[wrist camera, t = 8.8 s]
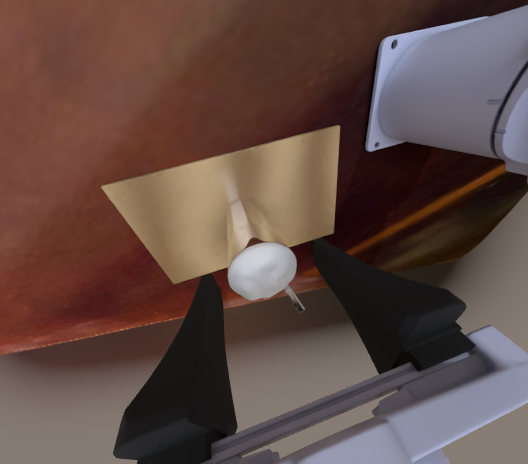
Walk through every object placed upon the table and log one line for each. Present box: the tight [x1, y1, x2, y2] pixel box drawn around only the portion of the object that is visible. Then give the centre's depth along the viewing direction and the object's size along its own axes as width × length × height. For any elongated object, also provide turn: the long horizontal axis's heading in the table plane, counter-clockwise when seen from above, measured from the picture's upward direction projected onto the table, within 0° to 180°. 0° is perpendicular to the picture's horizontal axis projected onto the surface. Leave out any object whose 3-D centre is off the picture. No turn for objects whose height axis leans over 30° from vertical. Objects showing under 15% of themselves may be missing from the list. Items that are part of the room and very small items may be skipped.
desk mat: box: [101, 125, 340, 284], centre depth 19 cm, size 20×12×1 cm, turn 100°
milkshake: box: [226, 199, 304, 313], centre depth 15 cm, size 4×5×10 cm
